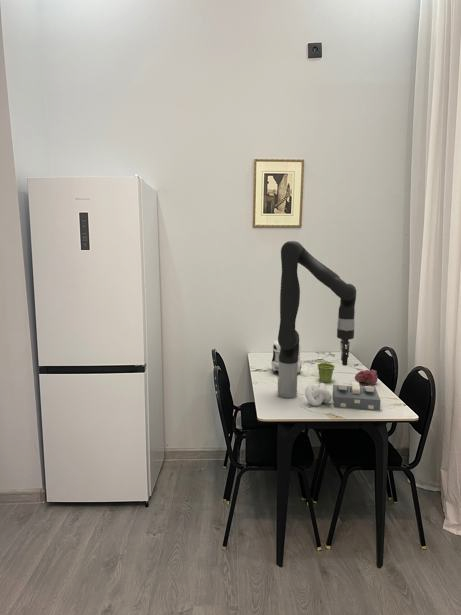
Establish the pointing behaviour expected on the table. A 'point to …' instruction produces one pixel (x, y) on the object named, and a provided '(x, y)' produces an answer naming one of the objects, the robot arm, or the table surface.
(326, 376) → the plant pot
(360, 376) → the flower
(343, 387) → the rocker
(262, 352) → the table surface
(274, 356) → the milk container
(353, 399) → the switch unit
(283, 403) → the table surface
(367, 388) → the rocker
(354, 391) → the rocker
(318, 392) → the white knot sculpture
